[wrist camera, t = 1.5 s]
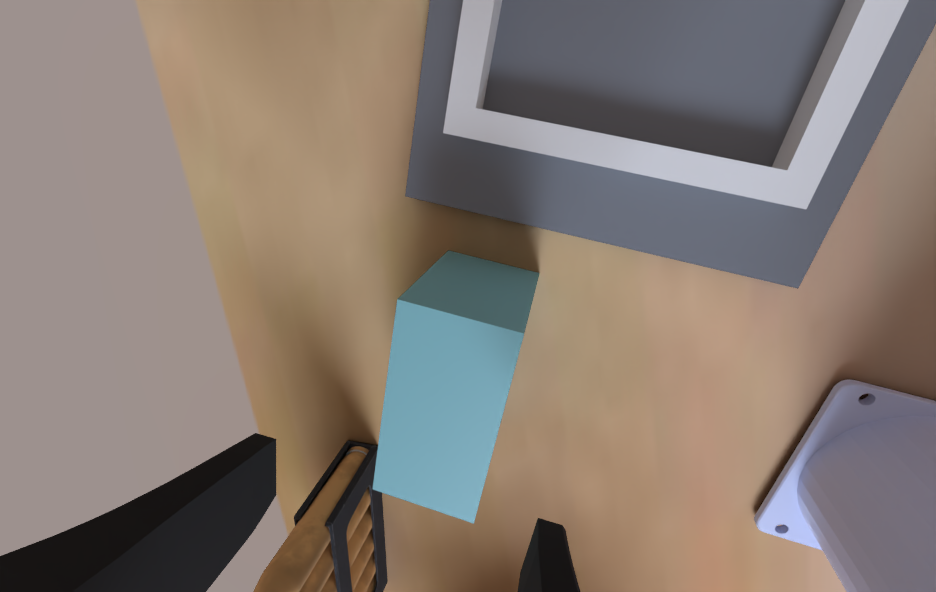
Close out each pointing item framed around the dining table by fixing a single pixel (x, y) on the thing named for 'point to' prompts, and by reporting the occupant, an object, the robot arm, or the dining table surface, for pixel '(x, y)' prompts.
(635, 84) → the grey square tray
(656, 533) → the dining table surface
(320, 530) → the ammunition clip
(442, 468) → the light blue rectangular block
